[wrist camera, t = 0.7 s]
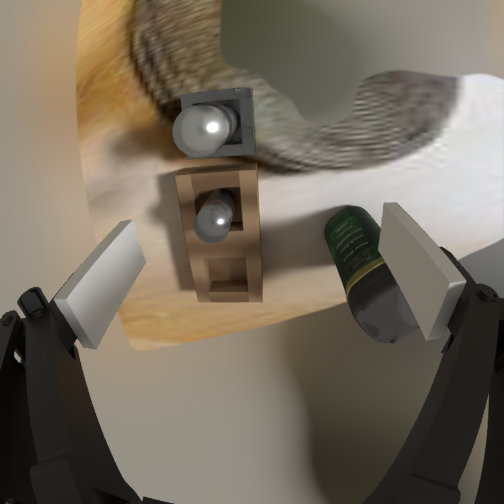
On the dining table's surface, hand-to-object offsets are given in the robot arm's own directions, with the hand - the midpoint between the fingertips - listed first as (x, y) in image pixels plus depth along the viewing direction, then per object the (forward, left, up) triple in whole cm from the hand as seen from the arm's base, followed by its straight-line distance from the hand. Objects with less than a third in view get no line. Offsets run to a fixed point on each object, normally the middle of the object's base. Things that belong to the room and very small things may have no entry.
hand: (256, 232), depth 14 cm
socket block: (-4, -5, -24) cm, 25 cm away
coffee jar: (+13, +13, -24) cm, 30 cm away
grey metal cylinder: (-4, -5, -23) cm, 24 cm away
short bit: (+7, -6, -23) cm, 25 cm away
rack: (+12, -6, -24) cm, 27 cm away
